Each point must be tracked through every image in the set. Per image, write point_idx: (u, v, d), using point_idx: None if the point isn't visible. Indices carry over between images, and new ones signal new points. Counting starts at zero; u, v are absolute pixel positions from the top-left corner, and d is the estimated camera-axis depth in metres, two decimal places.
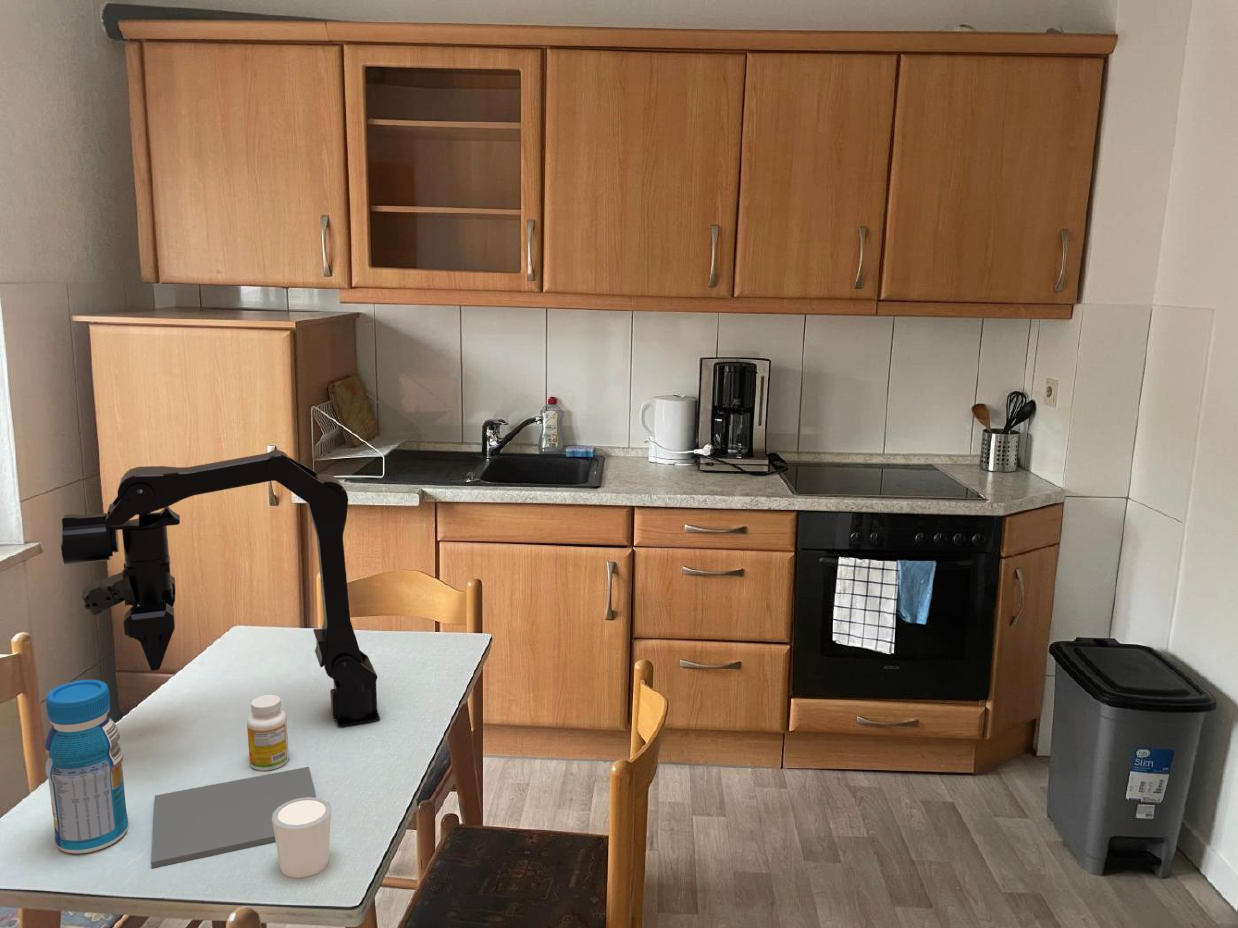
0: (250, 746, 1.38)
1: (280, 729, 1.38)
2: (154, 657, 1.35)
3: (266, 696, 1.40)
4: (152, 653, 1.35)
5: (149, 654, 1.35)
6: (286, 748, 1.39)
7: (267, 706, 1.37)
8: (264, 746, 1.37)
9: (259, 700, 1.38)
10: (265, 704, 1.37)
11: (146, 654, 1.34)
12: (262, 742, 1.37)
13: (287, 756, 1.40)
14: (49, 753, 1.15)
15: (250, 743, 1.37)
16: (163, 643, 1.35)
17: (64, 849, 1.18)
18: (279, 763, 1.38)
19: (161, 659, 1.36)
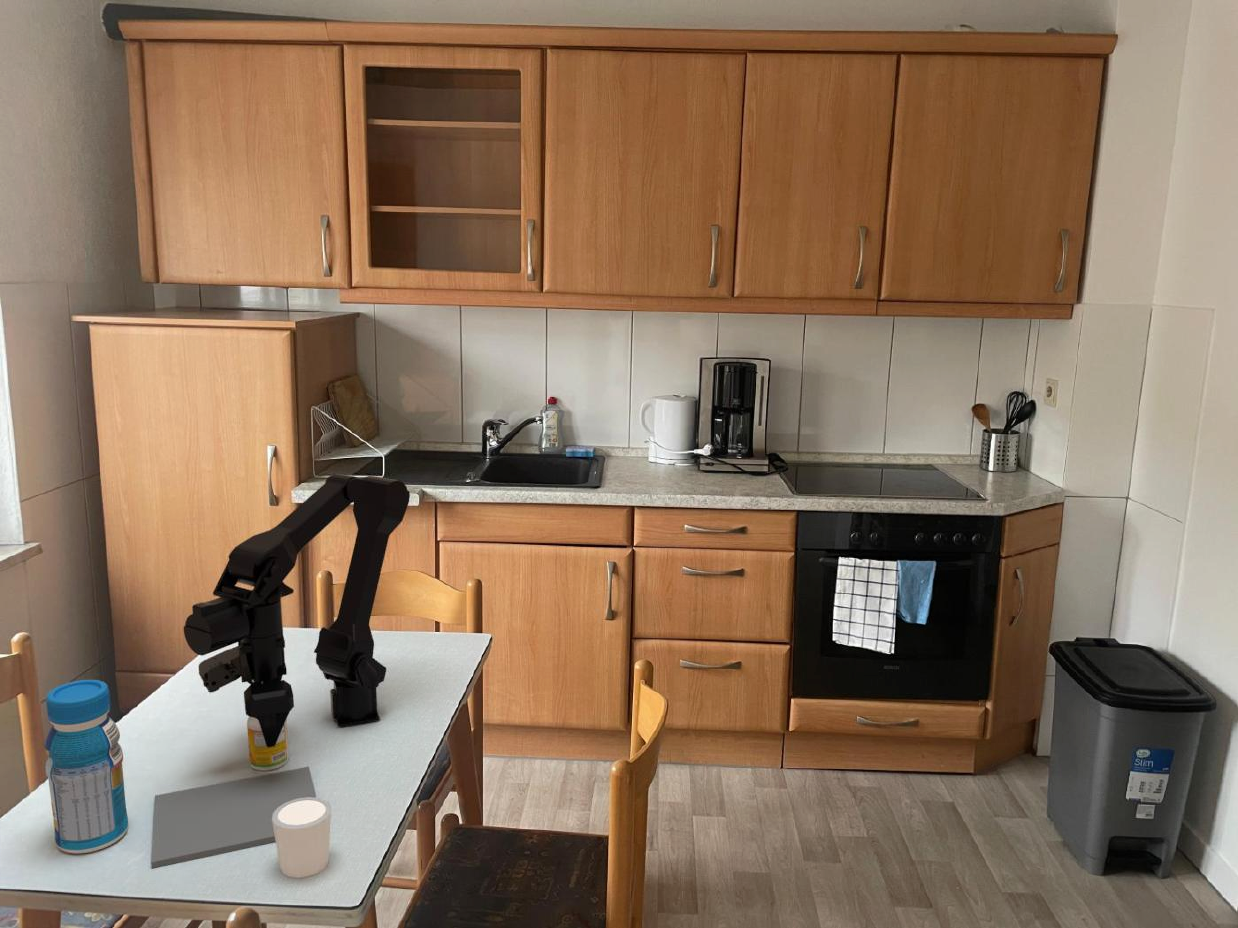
0: (250, 746, 1.38)
1: None
2: (271, 734, 1.34)
3: None
4: (269, 730, 1.34)
5: (266, 732, 1.34)
6: (286, 748, 1.39)
7: None
8: (264, 746, 1.37)
9: None
10: None
11: (263, 731, 1.33)
12: (262, 742, 1.37)
13: (287, 756, 1.40)
14: (49, 753, 1.15)
15: (250, 743, 1.37)
16: (280, 720, 1.34)
17: (64, 849, 1.18)
18: (279, 763, 1.38)
19: (277, 736, 1.35)
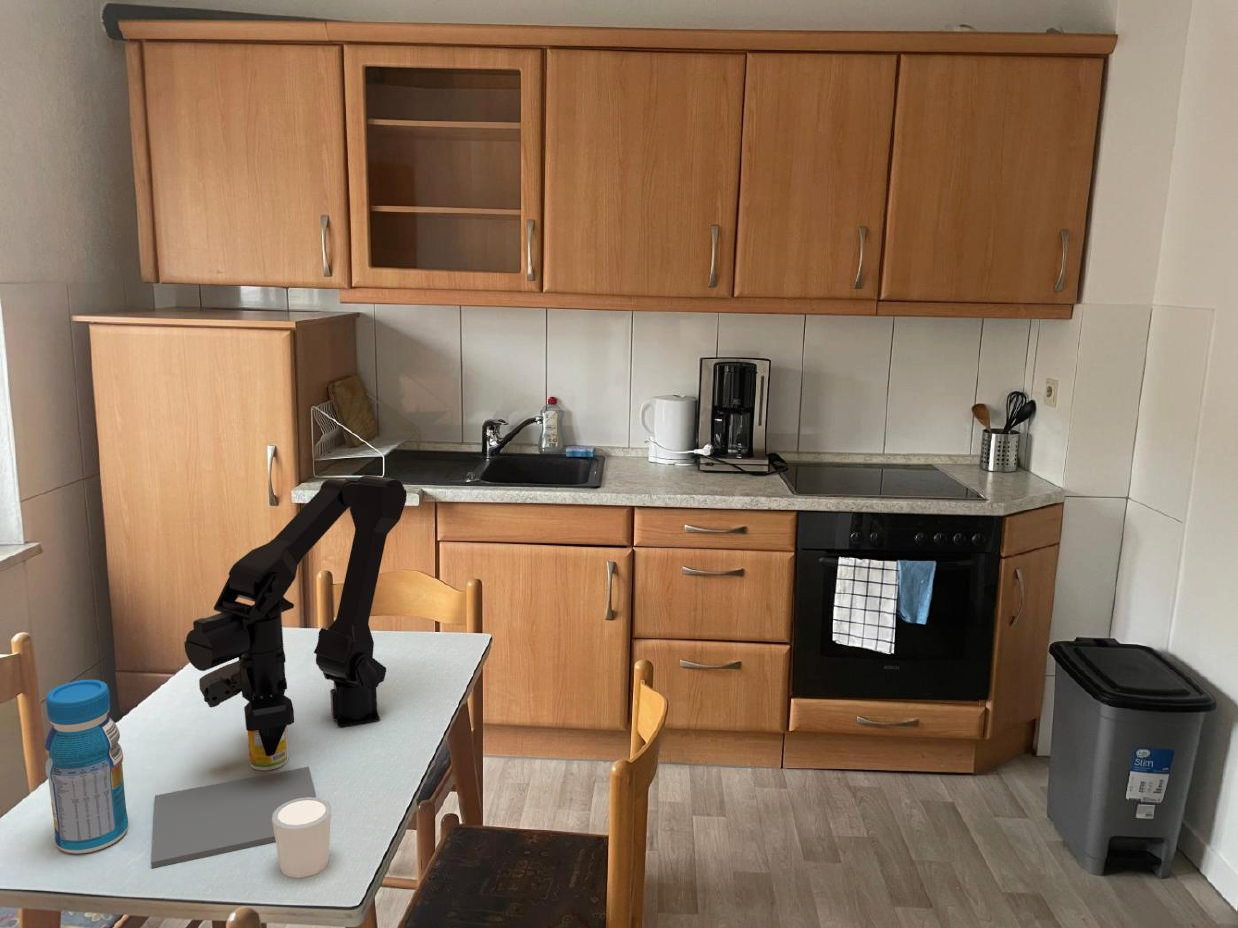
0: (250, 746, 1.37)
1: None
2: (270, 743, 1.36)
3: None
4: (268, 739, 1.35)
5: (265, 741, 1.36)
6: (286, 748, 1.39)
7: None
8: None
9: None
10: None
11: (263, 741, 1.35)
12: None
13: (287, 756, 1.40)
14: (49, 753, 1.15)
15: (250, 743, 1.37)
16: (279, 730, 1.35)
17: (64, 849, 1.18)
18: (279, 763, 1.38)
19: (276, 745, 1.36)
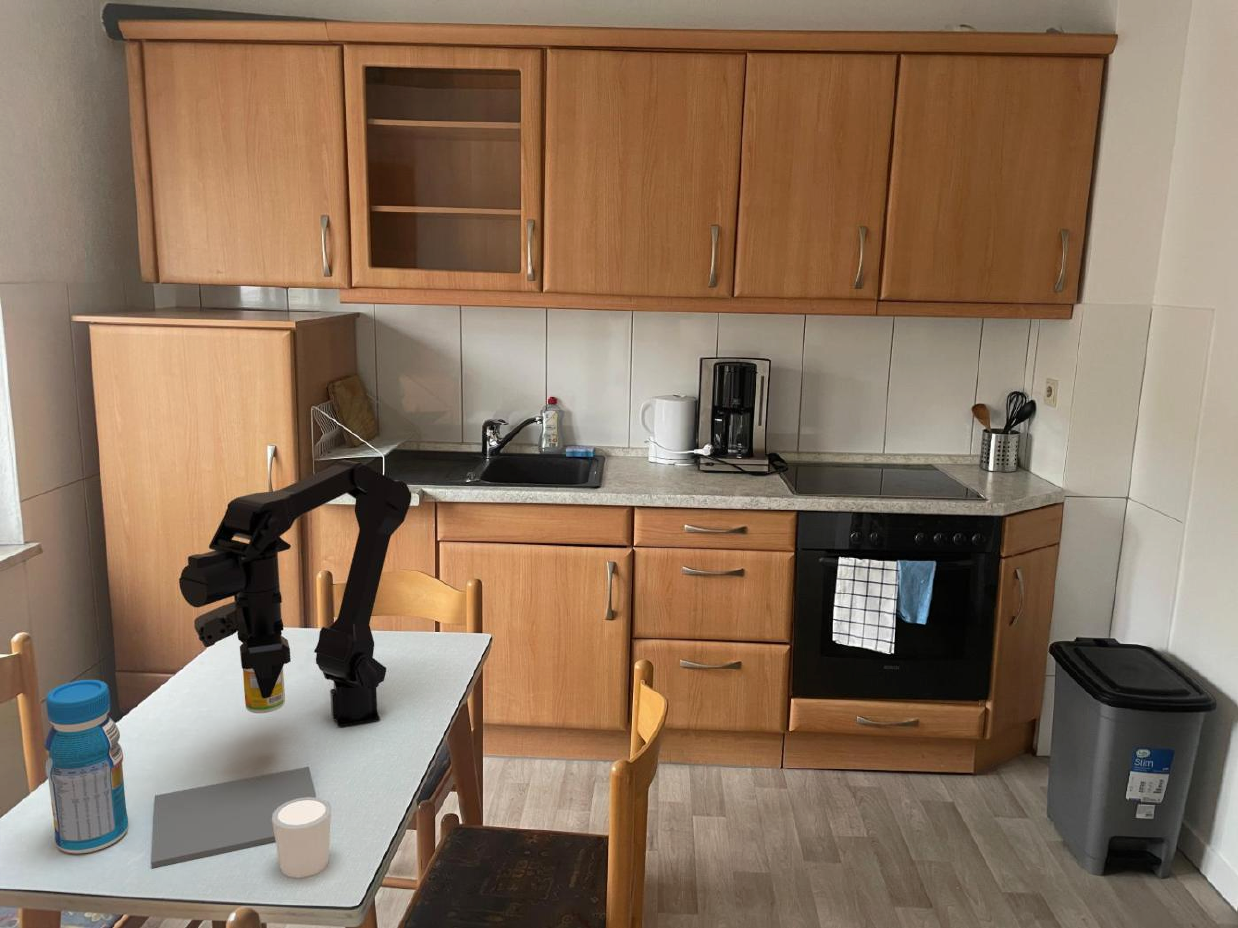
0: (246, 688, 1.36)
1: None
2: (266, 685, 1.34)
3: None
4: (264, 681, 1.34)
5: (261, 682, 1.34)
6: (282, 691, 1.38)
7: None
8: None
9: None
10: None
11: (258, 682, 1.33)
12: None
13: (283, 700, 1.38)
14: (49, 753, 1.15)
15: (246, 685, 1.35)
16: (275, 671, 1.34)
17: (64, 849, 1.18)
18: (275, 706, 1.37)
19: (272, 687, 1.35)
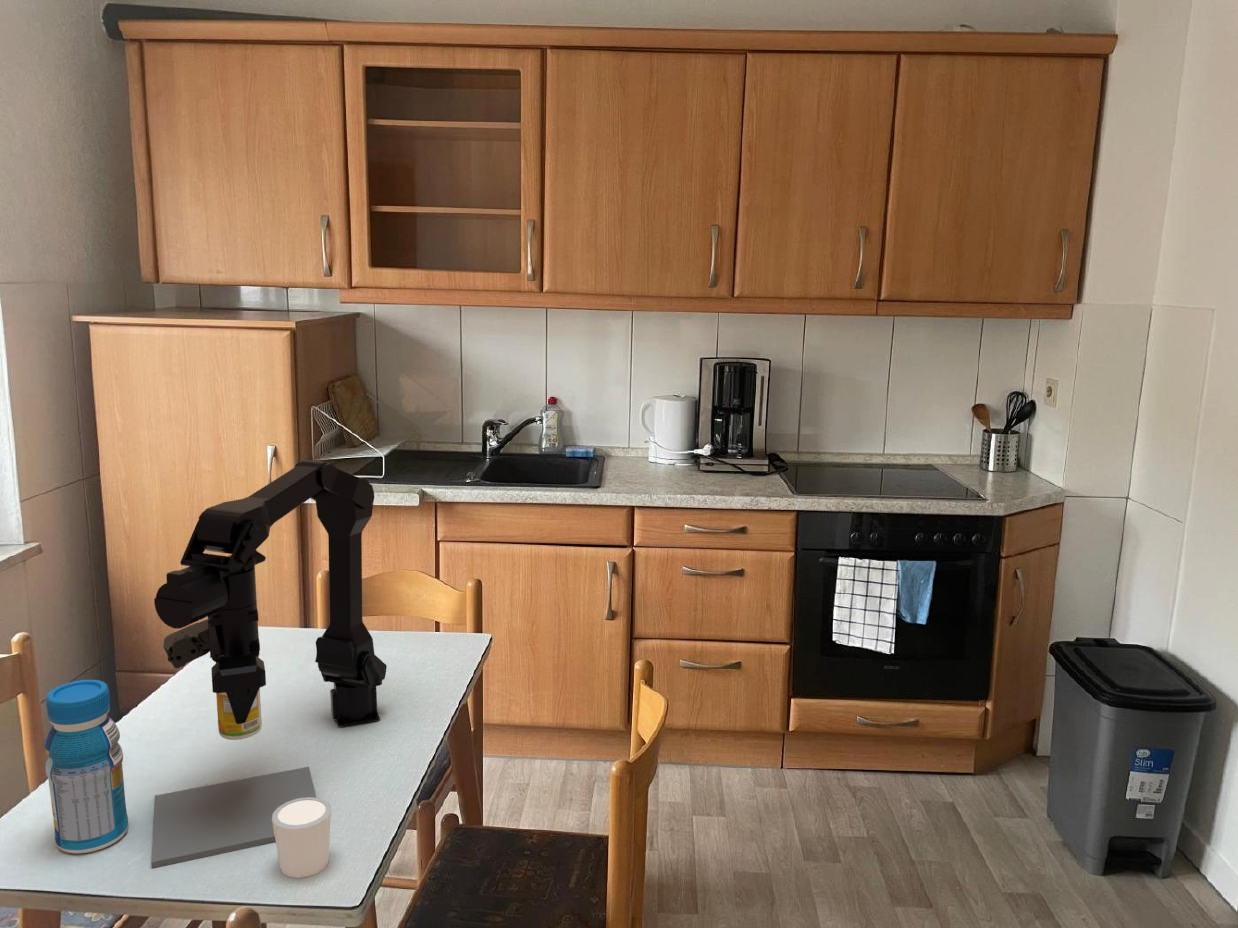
0: (219, 713, 1.26)
1: None
2: (240, 709, 1.24)
3: None
4: (238, 705, 1.24)
5: (235, 707, 1.24)
6: (259, 716, 1.28)
7: None
8: None
9: None
10: None
11: (232, 706, 1.23)
12: None
13: (260, 725, 1.28)
14: (49, 753, 1.15)
15: (219, 709, 1.26)
16: (251, 694, 1.24)
17: (64, 849, 1.18)
18: (251, 732, 1.27)
19: (247, 712, 1.25)
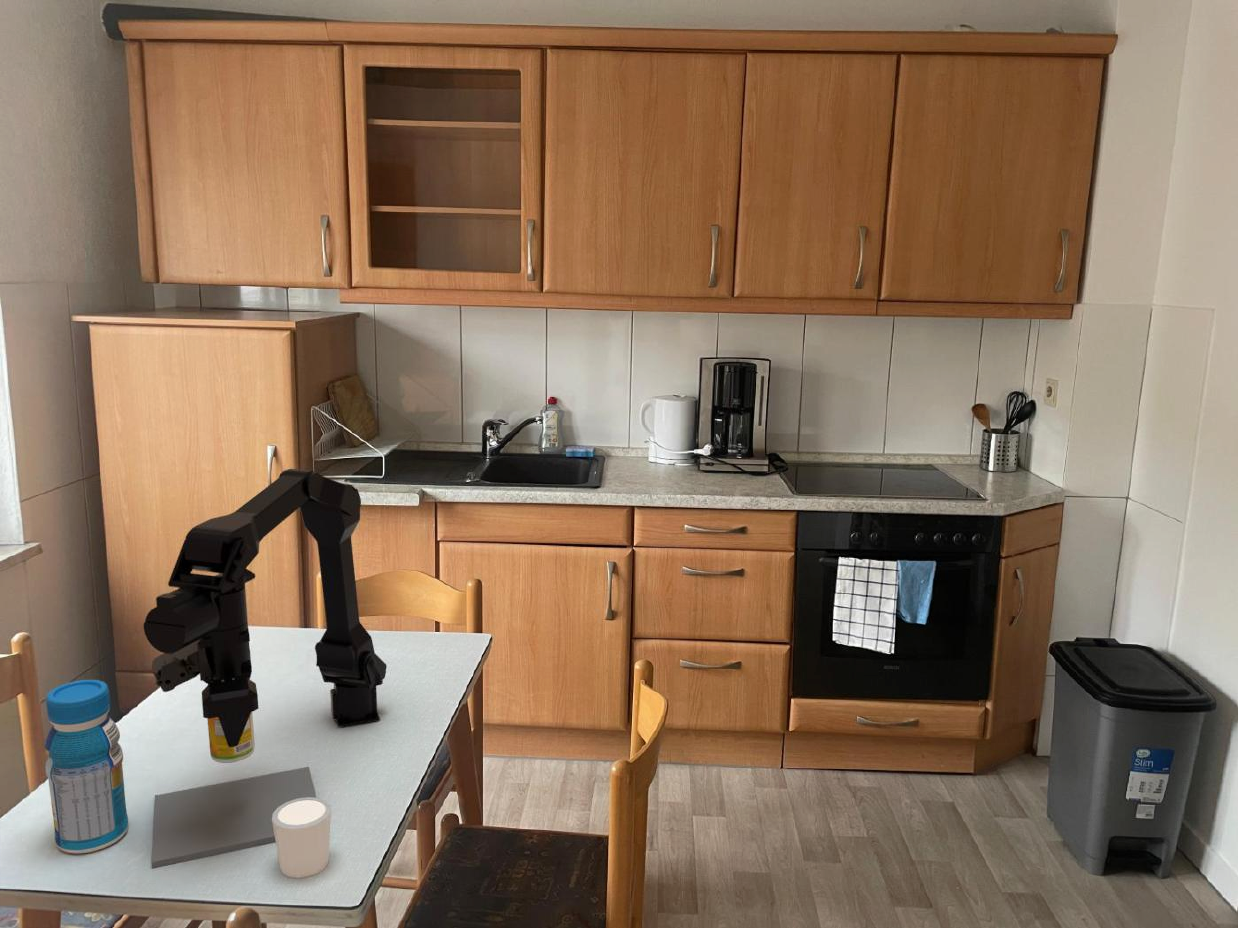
0: (210, 736, 1.22)
1: None
2: (232, 733, 1.21)
3: None
4: (230, 728, 1.20)
5: (227, 730, 1.20)
6: (251, 738, 1.24)
7: None
8: None
9: None
10: None
11: (224, 730, 1.20)
12: None
13: (253, 747, 1.25)
14: (49, 753, 1.15)
15: (210, 732, 1.22)
16: (243, 717, 1.20)
17: (64, 849, 1.18)
18: (244, 754, 1.23)
19: (240, 734, 1.21)
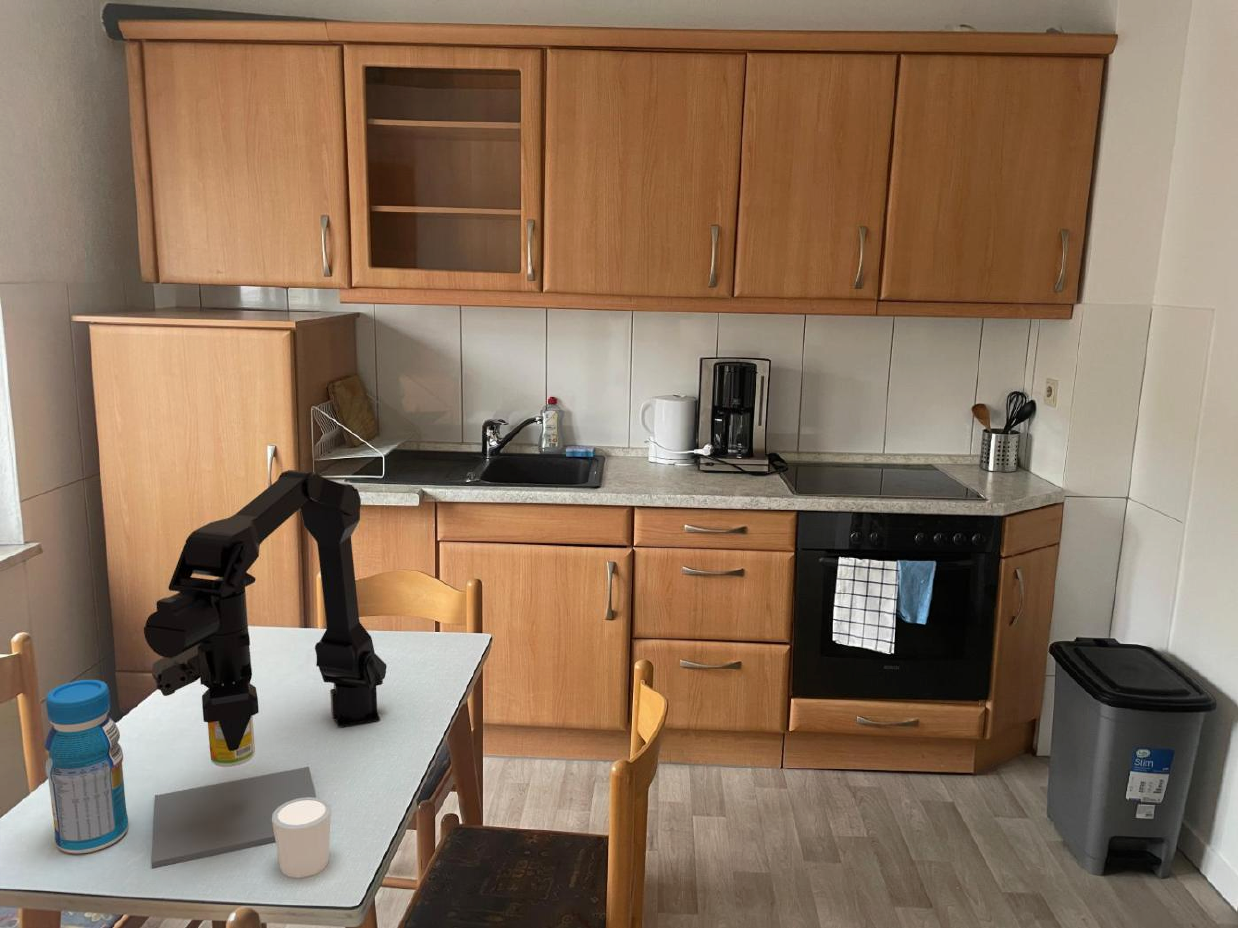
0: (210, 739, 1.22)
1: None
2: (233, 736, 1.21)
3: None
4: (231, 732, 1.20)
5: (228, 734, 1.20)
6: (252, 742, 1.24)
7: None
8: None
9: None
10: None
11: (224, 733, 1.20)
12: None
13: (253, 751, 1.25)
14: (49, 753, 1.15)
15: (210, 736, 1.22)
16: (243, 721, 1.20)
17: (64, 849, 1.18)
18: (244, 758, 1.23)
19: (240, 738, 1.21)
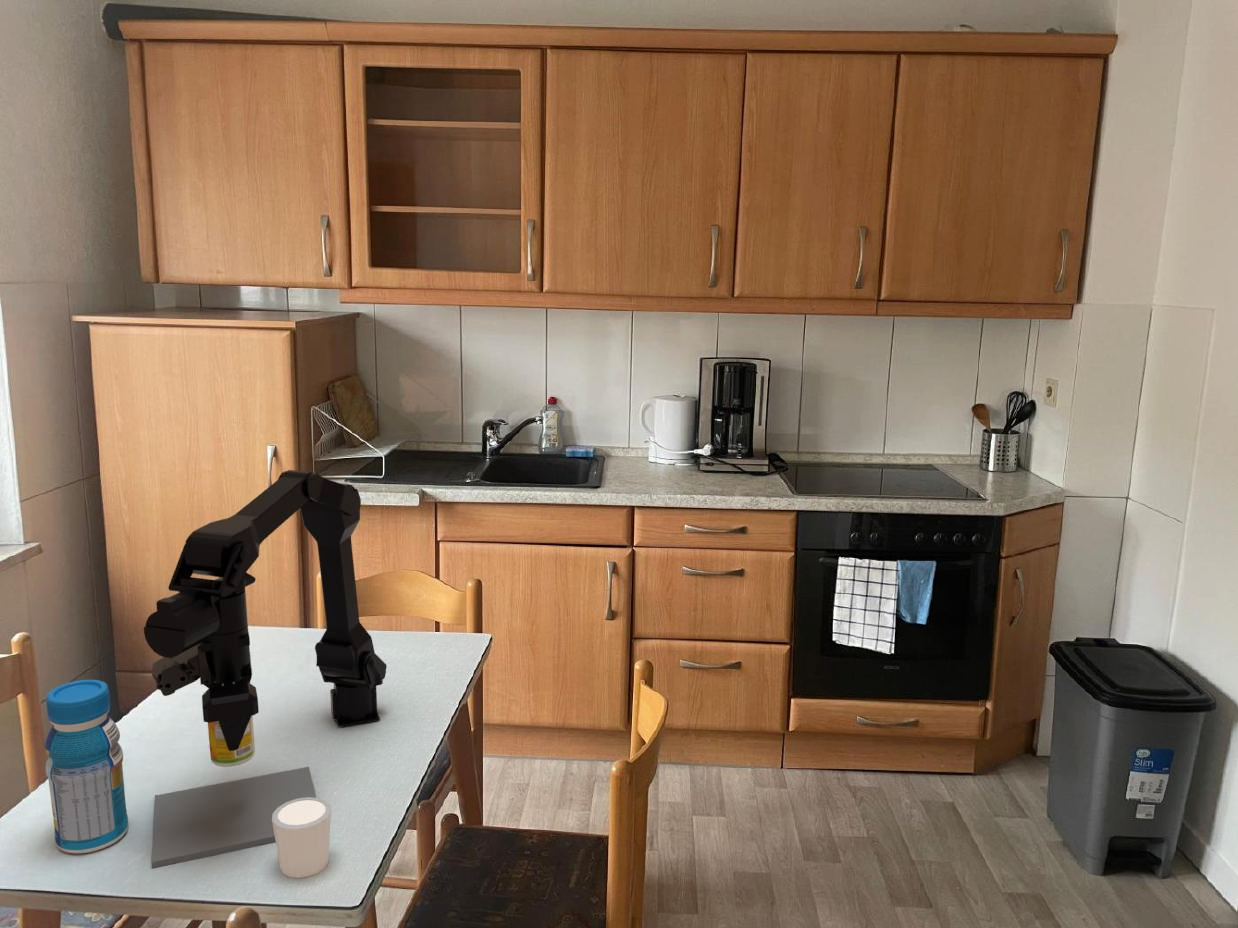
0: (210, 739, 1.22)
1: None
2: (233, 736, 1.21)
3: None
4: (231, 732, 1.20)
5: (228, 734, 1.20)
6: (252, 742, 1.24)
7: None
8: None
9: None
10: None
11: (224, 733, 1.20)
12: None
13: (253, 751, 1.25)
14: (49, 753, 1.15)
15: (210, 736, 1.22)
16: (243, 721, 1.20)
17: (64, 849, 1.18)
18: (244, 758, 1.23)
19: (240, 738, 1.21)
